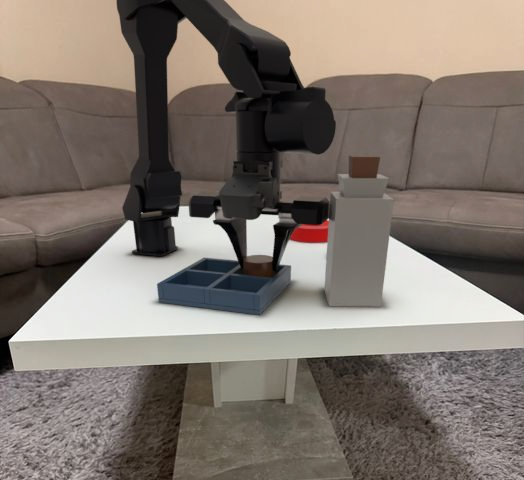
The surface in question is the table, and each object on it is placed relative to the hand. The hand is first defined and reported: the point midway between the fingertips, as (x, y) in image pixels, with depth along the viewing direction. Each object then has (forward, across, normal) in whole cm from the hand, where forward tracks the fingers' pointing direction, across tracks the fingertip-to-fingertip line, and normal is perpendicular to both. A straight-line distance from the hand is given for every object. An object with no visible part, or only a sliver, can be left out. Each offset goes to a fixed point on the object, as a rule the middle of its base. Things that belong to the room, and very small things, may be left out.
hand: (258, 269), depth 66 cm
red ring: (+3, 0, +36) cm, 36 cm away
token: (+1, 0, 0) cm, 1 cm away
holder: (+3, -3, -3) cm, 6 cm away
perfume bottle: (+3, +14, 0) cm, 14 cm away
